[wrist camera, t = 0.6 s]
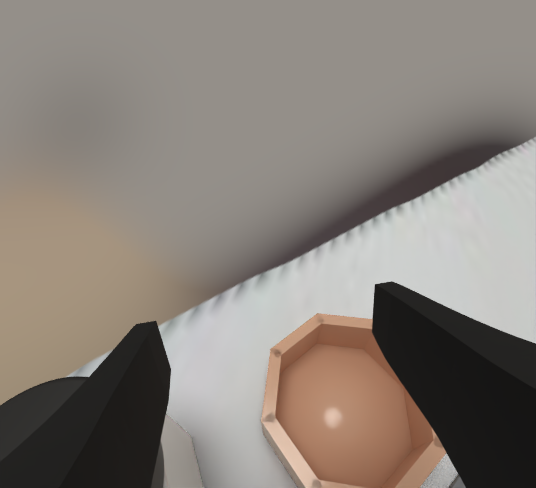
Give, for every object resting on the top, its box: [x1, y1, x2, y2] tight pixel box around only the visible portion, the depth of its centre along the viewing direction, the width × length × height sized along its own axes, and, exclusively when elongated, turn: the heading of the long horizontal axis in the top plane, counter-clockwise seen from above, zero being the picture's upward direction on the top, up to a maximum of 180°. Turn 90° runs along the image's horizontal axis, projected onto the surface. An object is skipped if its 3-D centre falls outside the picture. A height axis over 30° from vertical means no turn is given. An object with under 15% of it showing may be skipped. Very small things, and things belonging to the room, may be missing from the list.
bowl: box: [261, 313, 446, 488], centre depth 21 cm, size 11×11×4 cm
